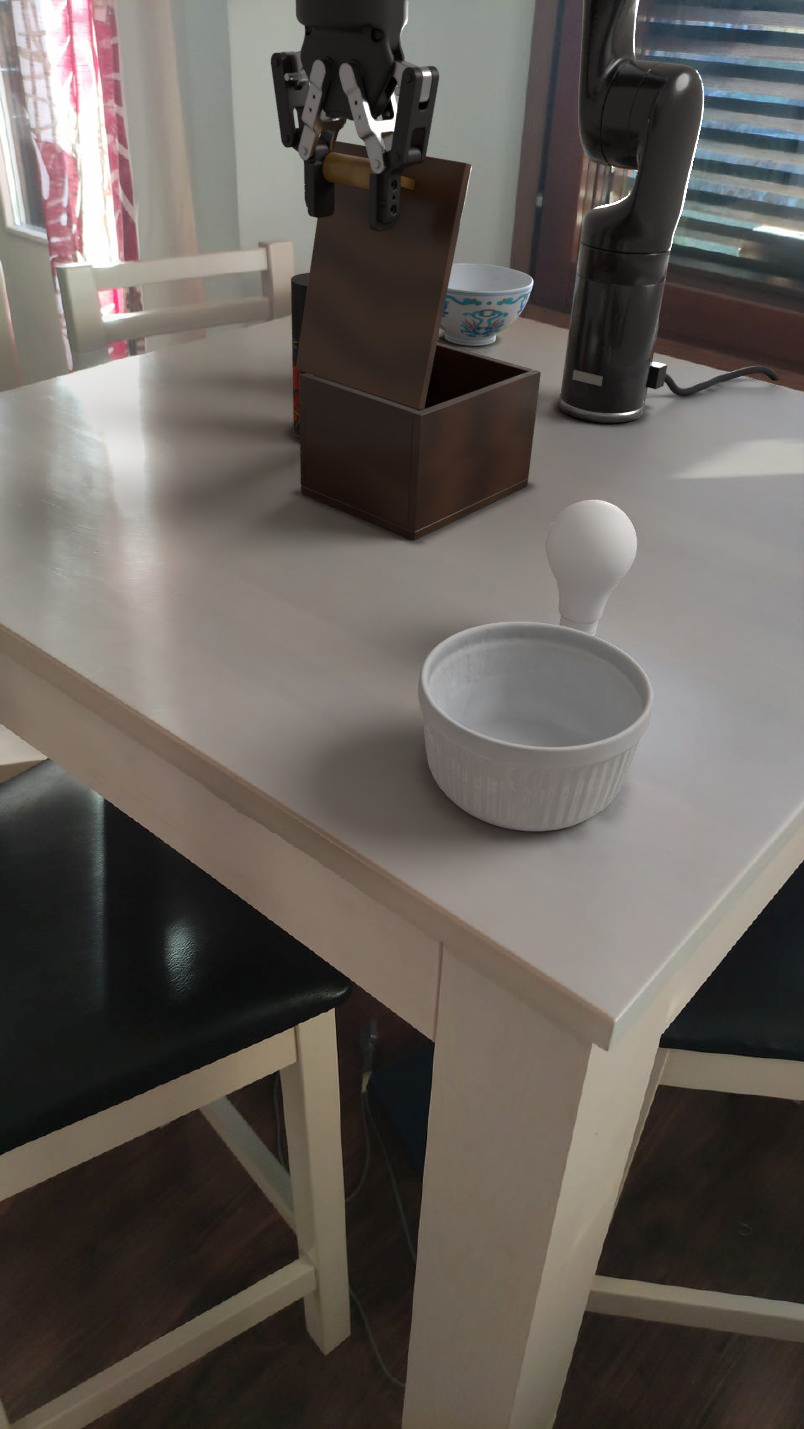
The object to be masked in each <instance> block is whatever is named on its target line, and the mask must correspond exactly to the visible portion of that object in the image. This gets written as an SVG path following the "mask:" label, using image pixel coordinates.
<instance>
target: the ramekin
mask: <svg viewBox="0 0 804 1429" xmlns="http://www.w3.org/2000/svg"><path fill="white" fill-rule="evenodd" d="M423 660H424V661H423V663H422V665H421V668H420V672H419V676H418V677H419V678H418V686H417V698H418V703H419V707H420V710H421V712H422V724H423V733H424V734H423V735H424V736H423V737H424V744H425V754H426V758H427V764H428V768H429V770H430V772H431V774H432V775H431V776H432V777H433V779H434V781H435V782H436V784H437V785H438V787H439V789H440V790H441V791H442V792H443V793H444V795H446V797H447V798H449V800H451V801H452V803H454V804H455V805H456V806H457V807H458V808H459V809H461V810H462V811H464V812H465V813H467V814H468V815H470V816H472V817H474V818H475V819H478V820H481V821H483V822H485V823H487V824H490V825H493V826H496V827H499V828H503V829H508V830H513V831H514V830H515V831H519V832H520V831H523V832H550V831H558V830H562V829H567V828H570V827H574V826H576V825H579V824H581V823H583V822H585V821H586V820H589V819H590V818H592V817H595V816H596V815H598V814H599V812H602V811H603V810H605V809H606V808H607V807H608V805H610V804H611V803H612V802H613V801H614V799H615V798H616V796H617V795H618V794H619V793H620V791H621V789H622V787H623V784H624V782H625V780H626V777H627V775H628V773H629V770H630V767H631V765H632V763H633V761H634V757H635V754H636V752H637V749H638V747H639V744H640V741H641V739H642V737H643V736H644V735H645V733H646V731H647V730H648V727H649V725H650V722H651V719H652V713H653V709H654V708H653V707H654V698H655V697H654V688H653V685H652V682H651V680H650V678H649V676H648V675H647V673H646V672H645V670H644V669H643V667H642V666H641V665H640V664H639V663H638V662H637V661H636V660H635V659H634V658H632V656H630V655H629V654H628V653H627V652H625V651H623V650H622V649H621V648H619V647H617V646H616V645H614V644H613V643H611V642H609V641H607V640H604V639H603V638H600V637H598V636H596V635H595V636H594V635H591V634H588V633H585V632H582V631H579V630H576V629H572V628H569V627H564V626H560V624H553V623H547V622H538V621H523V620H522V621H521V620H519V621H497V622H491V623H485V624H481V625H477V626H473V627H470V628H466V629H464V630H461V631H458V632H456V633H454V634H452V635H450V636H448V637H447V638H445V639H443V640H442V641H440V642H439V643H438V644H437V645H436V646H434V647H433V648H432V649H431V650H430V651H429V653H428V654H427V656H426V657H425V659H423Z"/></svg>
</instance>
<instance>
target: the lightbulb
mask: <svg viewBox="0 0 804 1429" xmlns="http://www.w3.org/2000/svg"><path fill="white" fill-rule="evenodd" d="M637 550H638V537H637V532H636V530H635V527H634V525H633V523H632V521H631V520H630V517H629V516H628V515H627V514H626V513H625V512H624V511H623V510H622V509H621V508H620V507H618V506H616V505H614V504H612V503H610V502H608V501H605V500H601V499H587V500H580V501H578V502H575V503H572V504H570V505H568V506H567V507H565V508H564V509H563V510H562V511H561V512H560V513H558V515H557V516H556V517H555V518H554V519H553V520H552V522H551V524H550V526H549V529H548V531H547V534H546V538H545V554H546V559H547V562H548V565H549V566H550V570H551V573H552V574H553V577H554V579H555V581H556V585H557V590H558V612H559V614H560V618H559V626H564V627H569V628H572V629H576V630H579V631H582V632H585V633H588V634H591V635H594V636H596V632H597V629H598V624H599V620H600V619H601V618H602V617H603V615H604V611H605V606H606V604H607V602H608V599H609V597H610V595H611V594H612V592H613V590H614V589H615V588H616V587H617V585H618V584H619V583H620V582H622V580H623V579H624V577H625V576H626V575H627V573H628V572H629V571H630V569H631V567H632V566H633V564H634V562H635V559H636V556H637Z"/></svg>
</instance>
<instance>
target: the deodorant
mask: <svg viewBox="0 0 804 1429" xmlns="http://www.w3.org/2000/svg"><path fill="white" fill-rule="evenodd" d="M309 273H310V272H304V273H303V272H302V273H299V274H295V275H293V276H292V277H291V278H290V291H291V292H290V299H291V300H290V303H291V360H292V362H291V364H292V366H291V368H292V370H291V371H292V416H293V417H292V420H293V421H292V424H293V428H292V430H293V435H294V436H295V438H296V439H298V440H300V400H299V375H300V374H304V373H306V372H303V371H300V370H297V369H296V364H297V357H298V350H299V343H300V336H301V329H302V322H303V315H304V308H305V301H306V294H307V287H308V280H309Z"/></svg>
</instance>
